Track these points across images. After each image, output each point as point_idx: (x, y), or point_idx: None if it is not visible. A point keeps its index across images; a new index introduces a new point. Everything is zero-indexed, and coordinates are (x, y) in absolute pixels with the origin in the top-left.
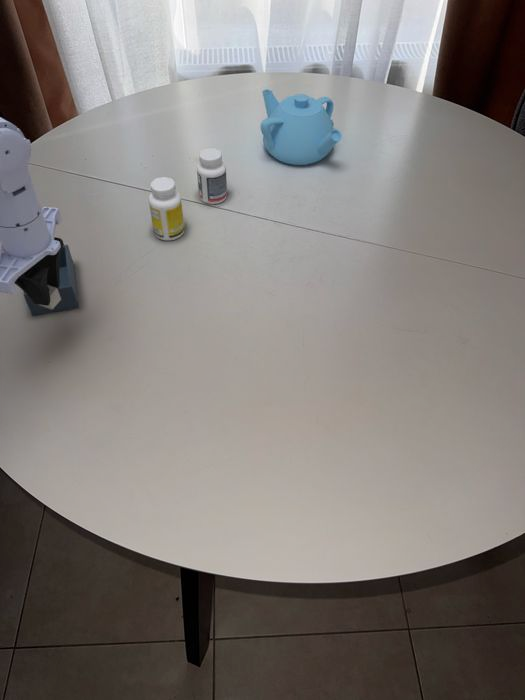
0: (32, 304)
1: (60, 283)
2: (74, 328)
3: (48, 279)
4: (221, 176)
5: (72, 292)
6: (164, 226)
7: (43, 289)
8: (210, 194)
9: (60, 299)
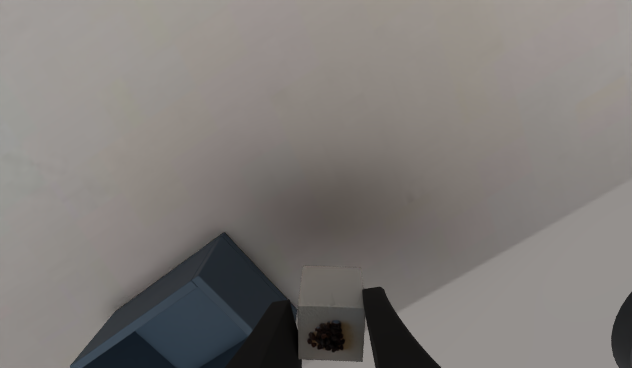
0: None
1: (182, 309)
2: (289, 204)
3: (288, 360)
4: None
5: (209, 264)
6: None
7: (427, 358)
8: None
9: (306, 268)
